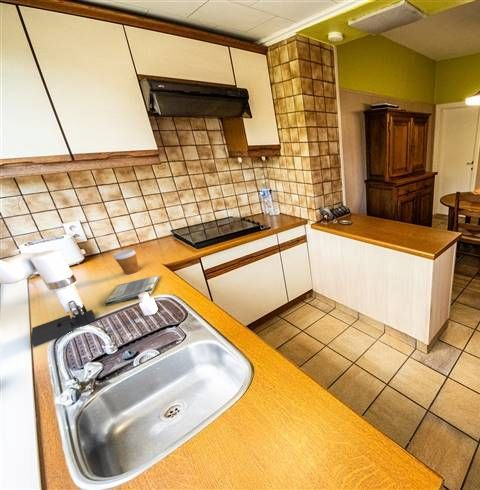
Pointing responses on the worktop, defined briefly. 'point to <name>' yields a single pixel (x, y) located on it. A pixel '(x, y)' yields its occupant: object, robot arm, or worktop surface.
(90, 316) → the black pad
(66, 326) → the charcoal pad
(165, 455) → the worktop surface
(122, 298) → the dish towel
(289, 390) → the worktop surface
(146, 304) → the pepper shaker
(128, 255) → the disposable coffee cup
